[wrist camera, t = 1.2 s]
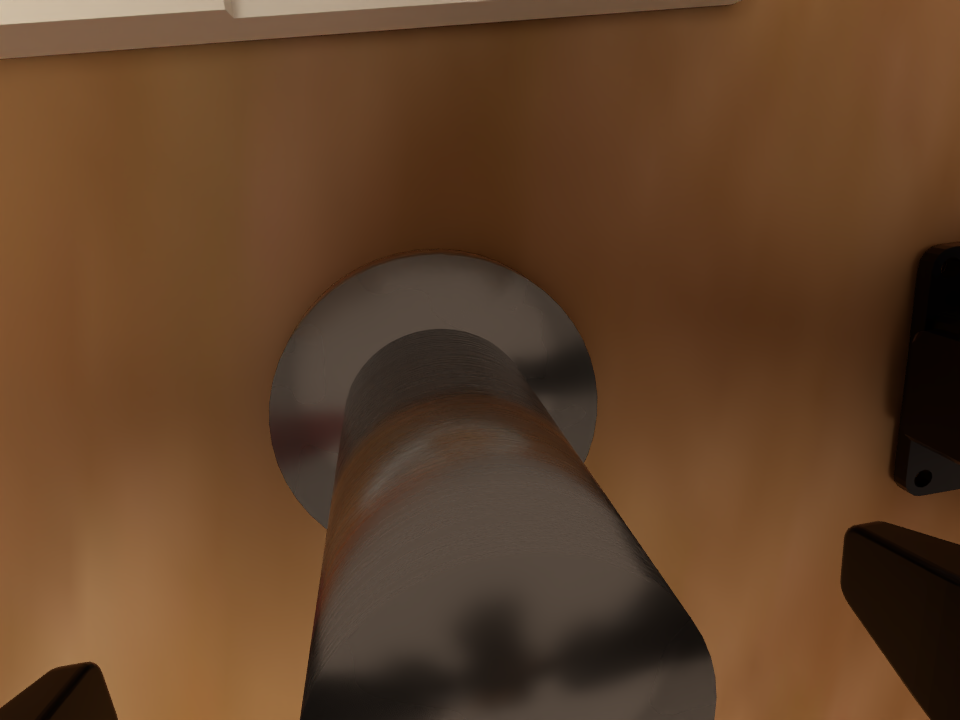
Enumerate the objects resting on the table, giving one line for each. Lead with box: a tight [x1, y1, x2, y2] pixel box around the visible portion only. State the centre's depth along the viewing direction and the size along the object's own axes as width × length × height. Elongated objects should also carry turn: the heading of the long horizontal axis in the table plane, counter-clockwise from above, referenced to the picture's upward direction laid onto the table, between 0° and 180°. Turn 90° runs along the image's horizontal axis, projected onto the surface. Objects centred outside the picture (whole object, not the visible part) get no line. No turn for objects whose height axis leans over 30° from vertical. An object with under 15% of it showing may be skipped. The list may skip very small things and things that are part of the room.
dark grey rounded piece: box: [269, 249, 716, 720], centre depth 10 cm, size 7×7×9 cm
